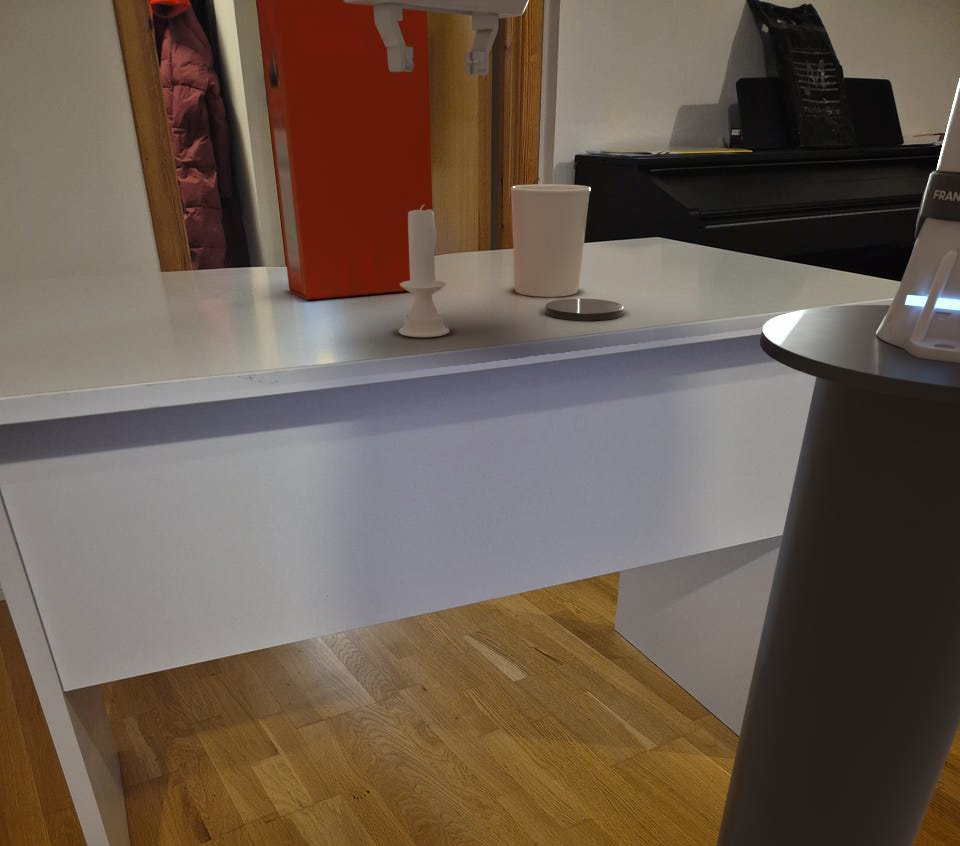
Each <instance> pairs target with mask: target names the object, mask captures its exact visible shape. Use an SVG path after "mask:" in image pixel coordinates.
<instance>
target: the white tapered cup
mask: <svg viewBox="0 0 960 846" xmlns="http://www.w3.org/2000/svg"><path fill="white" fill-rule="evenodd" d="M590 194H591V186H589V185H588V186H587V185H581V184H580V185H579V184H561V183H560V184H559V183H558V184H556V183H549V184H548V183H538V184H518V185H517V184H516V185H512V186H511V187H510V196H511V197H510V199H511V226H512V227H511V228H512V232H511V233H512V260H513V261H512V262H513V263H512V264H513V265H512V266H513V285H514V291H515V292H516V293H517V294H519V295H523V296H528V297H539V298H540V297H541V298H556V297H568V296H571V295H575V294H577V293H578V292H579V288H580V282H581V281H580V280H581V273H582V264H583V256H584V255H583V254H584V248H585V247H584V245H585V237H586V229H587V228H586V227H587V219H588V211H589V202H590Z"/></svg>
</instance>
